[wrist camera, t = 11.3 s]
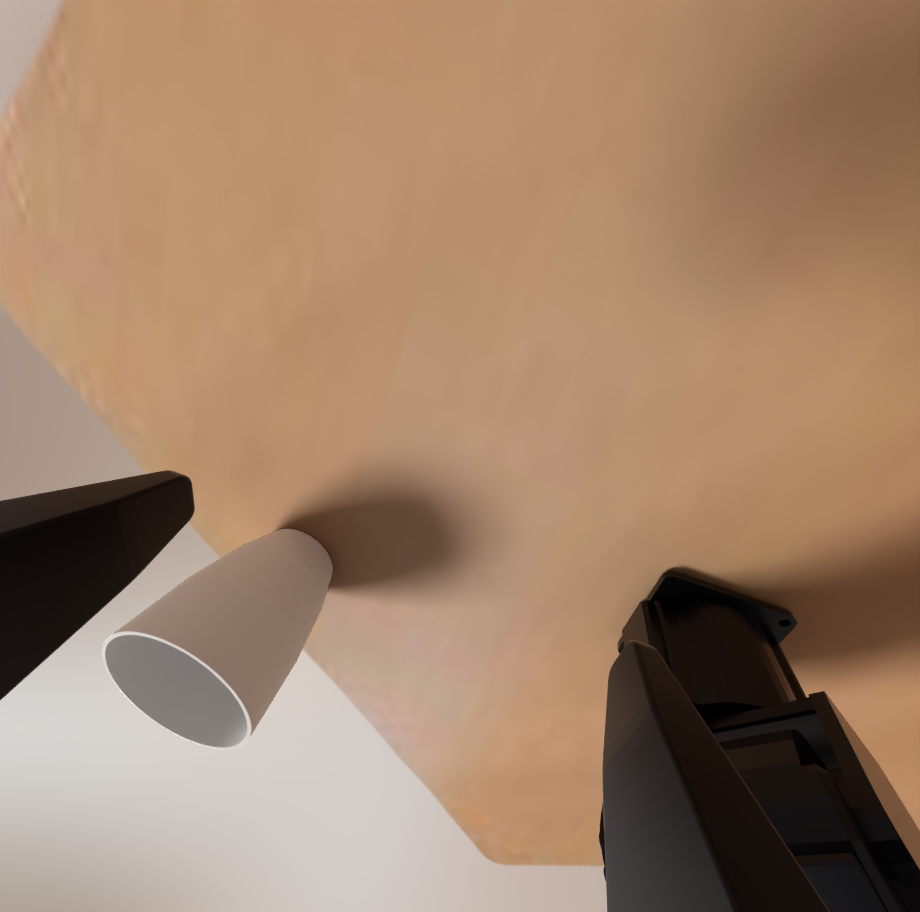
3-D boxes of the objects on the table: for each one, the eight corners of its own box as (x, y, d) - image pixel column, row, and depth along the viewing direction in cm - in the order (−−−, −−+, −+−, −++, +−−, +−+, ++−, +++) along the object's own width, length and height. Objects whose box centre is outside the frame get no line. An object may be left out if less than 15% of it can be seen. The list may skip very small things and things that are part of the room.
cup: (237, 563, 30) (99, 689, 21) (261, 486, 26) (103, 603, 17) (332, 621, 30) (232, 769, 21) (371, 552, 26) (268, 701, 17)
